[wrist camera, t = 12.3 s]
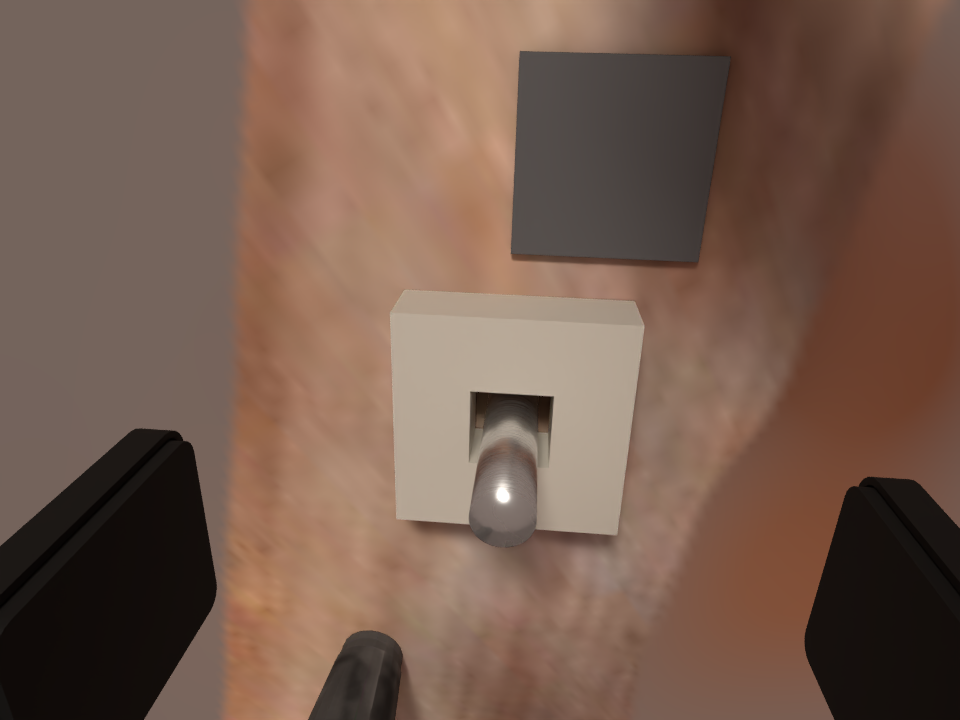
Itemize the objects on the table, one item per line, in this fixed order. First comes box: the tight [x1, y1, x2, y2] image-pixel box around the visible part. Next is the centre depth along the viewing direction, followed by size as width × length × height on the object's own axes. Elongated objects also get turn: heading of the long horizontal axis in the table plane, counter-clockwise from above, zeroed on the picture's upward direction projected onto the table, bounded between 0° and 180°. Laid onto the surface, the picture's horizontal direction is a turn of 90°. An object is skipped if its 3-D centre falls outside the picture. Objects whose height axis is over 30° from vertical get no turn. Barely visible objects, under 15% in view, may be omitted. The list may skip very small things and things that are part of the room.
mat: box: [511, 51, 731, 262], centre depth 34 cm, size 10×10×1 cm
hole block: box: [390, 290, 645, 535], centre depth 39 cm, size 13×13×4 cm
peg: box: [469, 393, 538, 547], centre depth 35 cm, size 3×3×12 cm
